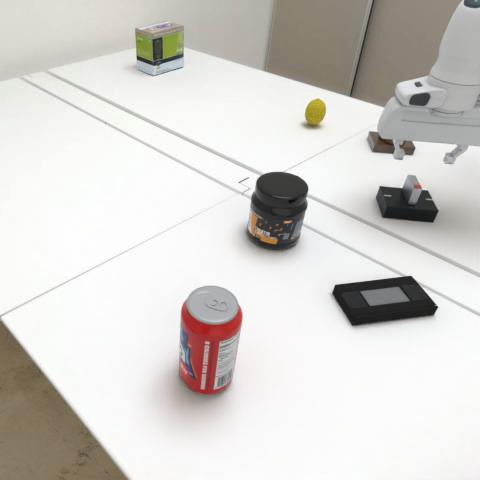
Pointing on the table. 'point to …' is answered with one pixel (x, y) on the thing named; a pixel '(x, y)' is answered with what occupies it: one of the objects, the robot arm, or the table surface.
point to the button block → (388, 144)
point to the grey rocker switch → (411, 189)
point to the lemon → (315, 111)
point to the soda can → (209, 339)
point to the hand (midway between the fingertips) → (422, 160)
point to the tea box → (159, 47)
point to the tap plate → (406, 205)
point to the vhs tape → (383, 300)
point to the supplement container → (277, 210)
